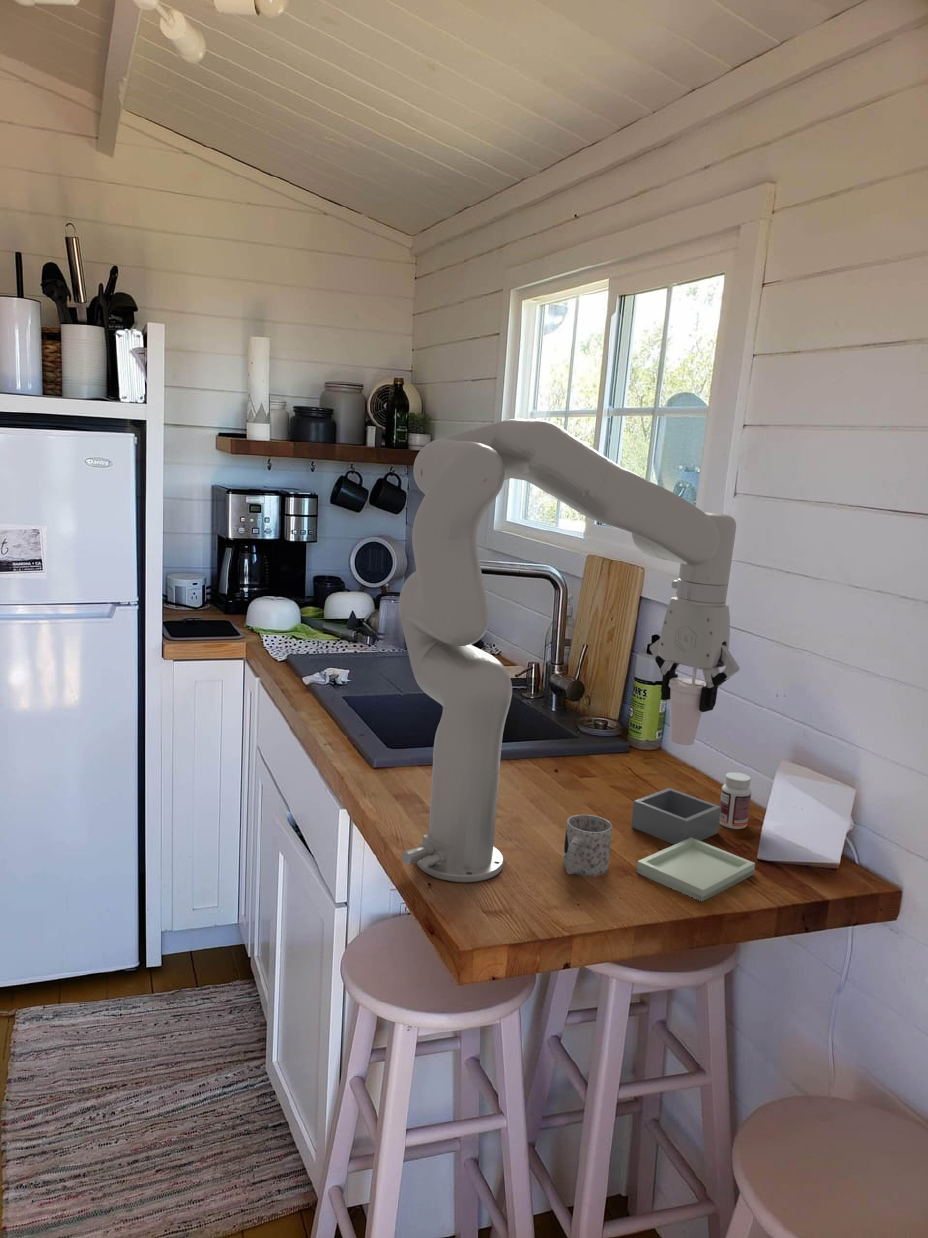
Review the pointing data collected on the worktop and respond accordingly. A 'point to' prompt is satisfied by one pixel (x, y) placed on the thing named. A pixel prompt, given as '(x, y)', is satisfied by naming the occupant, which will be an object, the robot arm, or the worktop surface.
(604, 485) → the robot arm
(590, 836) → the mug
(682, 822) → the grey square tube frame
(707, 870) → the tray
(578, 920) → the worktop surface
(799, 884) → the worktop surface
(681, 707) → the smoothie
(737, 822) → the pill bottle
